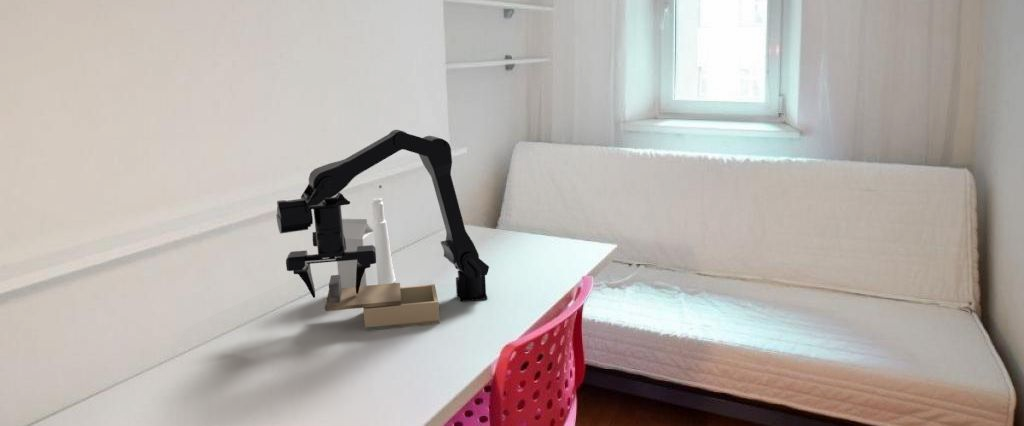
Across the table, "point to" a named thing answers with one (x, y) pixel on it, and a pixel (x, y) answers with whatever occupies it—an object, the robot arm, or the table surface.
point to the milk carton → (355, 236)
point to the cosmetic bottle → (382, 244)
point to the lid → (361, 295)
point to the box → (405, 310)
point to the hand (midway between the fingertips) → (335, 295)
